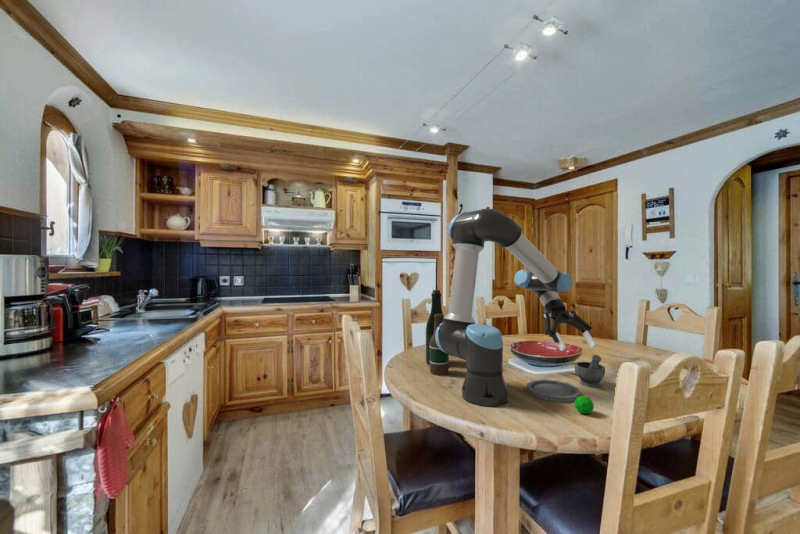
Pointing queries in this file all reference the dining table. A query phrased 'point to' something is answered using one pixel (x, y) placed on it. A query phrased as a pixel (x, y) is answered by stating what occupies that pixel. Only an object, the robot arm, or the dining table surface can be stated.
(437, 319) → the beer bottle
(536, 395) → the gray plate
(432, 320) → the wine bottle
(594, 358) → the mortar and pestle
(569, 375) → the dining table surface
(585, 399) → the polyhedron
